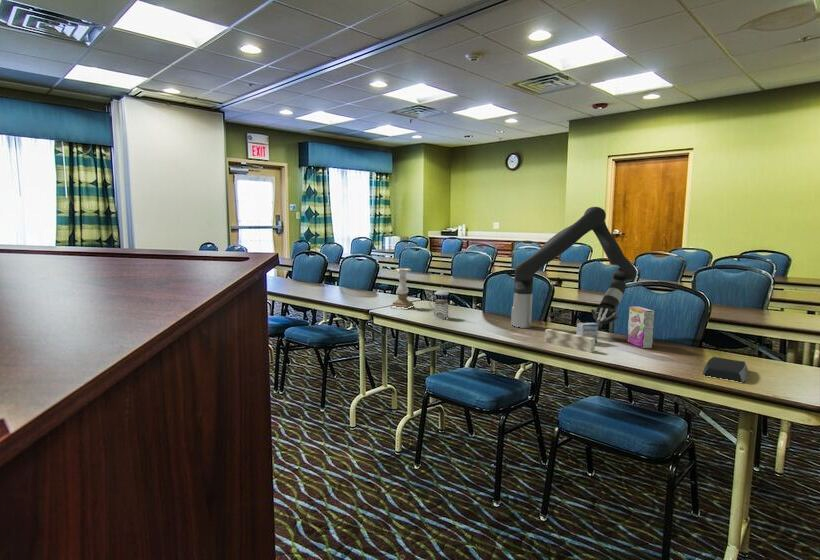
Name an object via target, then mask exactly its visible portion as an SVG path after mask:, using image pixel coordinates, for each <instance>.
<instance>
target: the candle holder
mask: <svg viewBox="0 0 820 560" xmlns="http://www.w3.org/2000/svg"><path fill="white" fill-rule="evenodd" d="M395 271H396V272H398V274H399V278H398V280H399V284H398V287H397V289H396V293H397V294H398V295H397V298H398V299H396V300H395V301H393V302H392V303H391V305H390V307H391V306H396V307H404V308H408V307H410V306H413V305H414V304H415V303H413V301H410V300H409V299H407V298H409V297H408V295H407V294H408V293H409V287H408V286H407V284H406V283H407V280H408V278H407V277H406V276H407V273H408V272H411V271H412V268H407V267H398V268H397V267H396V268H394V272H395Z"/></svg>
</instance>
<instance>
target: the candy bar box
mask: <svg viewBox="0 0 820 560" xmlns="http://www.w3.org/2000/svg"><path fill="white" fill-rule="evenodd" d="M628 308H629V309H628V322H627V324H628V325H627V339H626V342H627V343H629V344H631V345H633V346H636V347H638V348H640V347H641V349H643V348H646V349H652V348H653V341H654V340H653V339H654V328H655V317H656V316H655V314H656V311H654V310H652V309H649V308H645V307H641V306H640V305H639V306H635V305H634V306H629V307H628Z"/></svg>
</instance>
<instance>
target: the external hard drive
mask: <svg viewBox="0 0 820 560" xmlns="http://www.w3.org/2000/svg"><path fill="white" fill-rule="evenodd" d="M703 375H705V376H711V377H716V378H722V379H728V380H734V381H738V382H744V381H745V380H746V379H747V380H748V378H749V368H748V366H747V363H746V361H741V360H736V359H731V358H730V359H729V358H723V357H716V356H713V357H711V358H710V359H709V360H707V362H706V364H705V366H704V369H703V371H702V376H703ZM747 377H748V378H747ZM747 380H746V381H747ZM746 381H745V382H746Z"/></svg>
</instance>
